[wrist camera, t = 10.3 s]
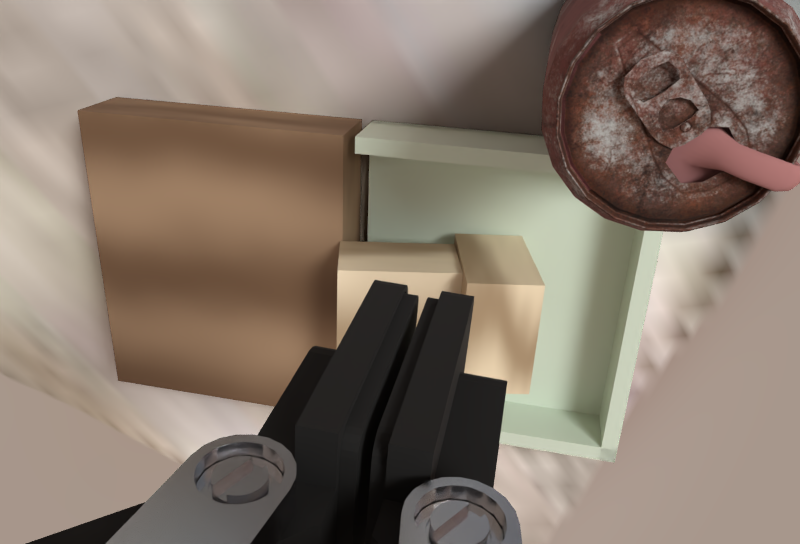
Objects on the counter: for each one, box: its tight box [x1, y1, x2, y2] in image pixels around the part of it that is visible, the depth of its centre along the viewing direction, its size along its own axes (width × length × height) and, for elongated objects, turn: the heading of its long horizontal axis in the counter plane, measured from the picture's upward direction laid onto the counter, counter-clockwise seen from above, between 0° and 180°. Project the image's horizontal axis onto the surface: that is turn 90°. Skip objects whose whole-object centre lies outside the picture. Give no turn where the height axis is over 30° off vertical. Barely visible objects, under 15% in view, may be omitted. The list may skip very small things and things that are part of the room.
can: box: [542, 0, 800, 232], centre depth 22 cm, size 6×6×14 cm
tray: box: [355, 120, 663, 462], centre depth 32 cm, size 14×12×3 cm
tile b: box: [454, 234, 545, 394], centre depth 31 cm, size 5×5×3 cm
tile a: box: [337, 241, 463, 348], centre depth 31 cm, size 5×5×3 cm
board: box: [78, 97, 362, 406], centre depth 35 cm, size 14×12×3 cm
